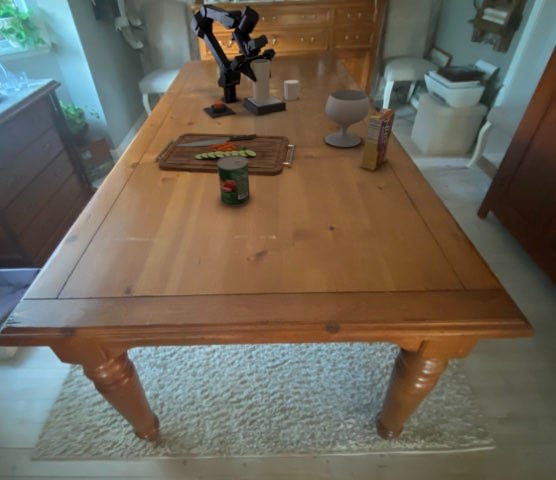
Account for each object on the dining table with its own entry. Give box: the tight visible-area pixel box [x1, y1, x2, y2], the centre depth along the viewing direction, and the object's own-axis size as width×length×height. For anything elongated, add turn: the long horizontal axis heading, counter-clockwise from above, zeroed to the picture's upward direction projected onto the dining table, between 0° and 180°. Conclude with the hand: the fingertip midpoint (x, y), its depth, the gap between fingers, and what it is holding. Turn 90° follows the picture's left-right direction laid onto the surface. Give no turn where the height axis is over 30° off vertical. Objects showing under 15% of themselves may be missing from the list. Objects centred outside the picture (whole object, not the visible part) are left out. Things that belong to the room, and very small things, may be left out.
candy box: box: [361, 107, 396, 171], centre depth 103 cm, size 9×4×15 cm, turn 140°
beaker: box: [251, 59, 271, 100], centre depth 136 cm, size 7×7×13 cm
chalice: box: [324, 89, 370, 148], centre depth 116 cm, size 14×14×15 cm
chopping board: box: [154, 132, 296, 176], centre depth 116 cm, size 45×27×3 cm, turn 80°
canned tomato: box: [217, 155, 251, 208], centre depth 92 cm, size 8×8×11 cm
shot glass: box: [283, 79, 300, 101], centre depth 155 cm, size 7×7×7 cm
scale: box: [242, 93, 287, 117], centre depth 148 cm, size 15×13×3 cm
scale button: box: [213, 100, 224, 108], centre depth 146 cm, size 4×4×2 cm
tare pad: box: [202, 103, 236, 119], centre depth 147 cm, size 12×10×2 cm
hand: (263, 79), depth 135 cm, fingers closed on beaker, 7 cm apart
